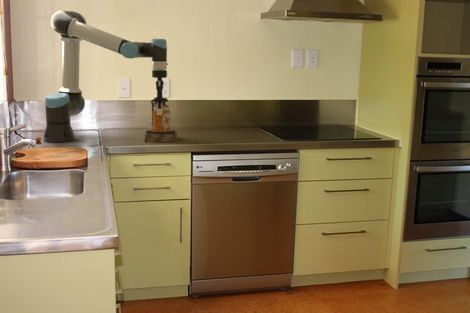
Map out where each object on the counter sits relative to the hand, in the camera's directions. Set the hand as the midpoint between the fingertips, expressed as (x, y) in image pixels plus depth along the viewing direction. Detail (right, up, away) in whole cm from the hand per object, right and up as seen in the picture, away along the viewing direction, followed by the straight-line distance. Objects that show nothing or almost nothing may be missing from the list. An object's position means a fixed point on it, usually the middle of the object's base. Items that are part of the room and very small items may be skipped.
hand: (159, 113), depth 282 cm
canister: (0, -11, +3) cm, 12 cm away
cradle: (0, -14, +3) cm, 14 cm away
